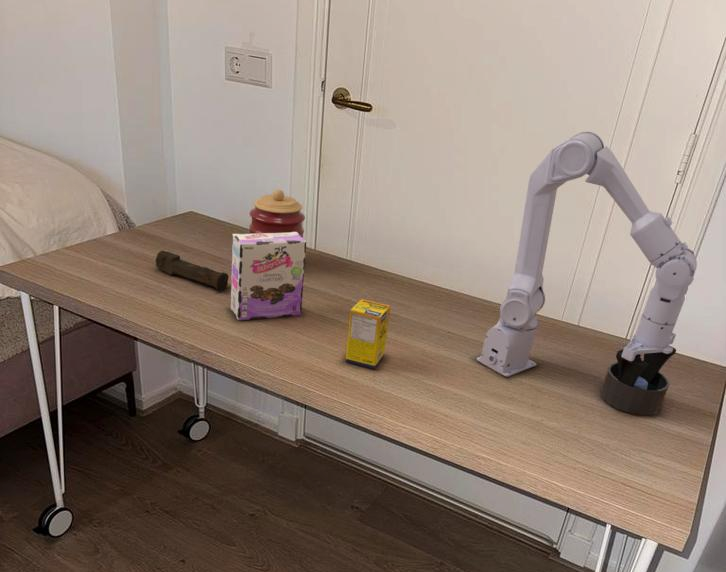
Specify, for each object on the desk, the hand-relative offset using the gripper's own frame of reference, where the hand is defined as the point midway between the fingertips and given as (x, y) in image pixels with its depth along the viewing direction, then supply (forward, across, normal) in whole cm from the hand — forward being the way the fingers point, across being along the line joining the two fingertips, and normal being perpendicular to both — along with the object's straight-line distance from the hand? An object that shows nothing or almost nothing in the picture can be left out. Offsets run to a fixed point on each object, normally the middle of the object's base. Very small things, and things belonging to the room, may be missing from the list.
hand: (635, 384), depth 132 cm
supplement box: (+4, -34, +37) cm, 50 cm away
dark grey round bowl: (+3, 0, 0) cm, 3 cm away
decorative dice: (+3, 0, 0) cm, 3 cm away
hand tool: (+4, -45, +85) cm, 96 cm away
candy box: (+4, -39, +63) cm, 74 cm away
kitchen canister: (+4, -21, +86) cm, 89 cm away
